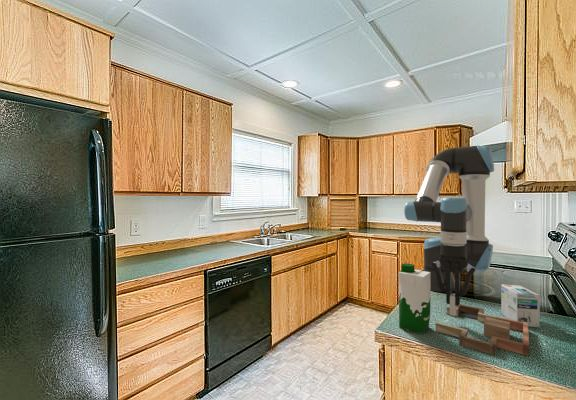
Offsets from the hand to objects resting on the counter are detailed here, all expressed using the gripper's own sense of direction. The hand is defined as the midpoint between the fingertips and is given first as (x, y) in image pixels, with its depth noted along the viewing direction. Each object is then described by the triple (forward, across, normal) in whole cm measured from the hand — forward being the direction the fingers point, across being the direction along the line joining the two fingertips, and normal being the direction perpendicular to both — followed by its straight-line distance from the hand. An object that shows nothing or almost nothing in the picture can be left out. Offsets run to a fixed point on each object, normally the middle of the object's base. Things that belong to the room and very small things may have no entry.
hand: (453, 314), depth 97 cm
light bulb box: (+4, +17, +17) cm, 25 cm away
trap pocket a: (+3, +3, +11) cm, 12 cm away
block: (+3, +12, -1) cm, 12 cm away
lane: (+3, +7, -1) cm, 8 cm away
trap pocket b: (+3, +8, -12) cm, 15 cm away
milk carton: (+3, -9, -11) cm, 15 cm away
